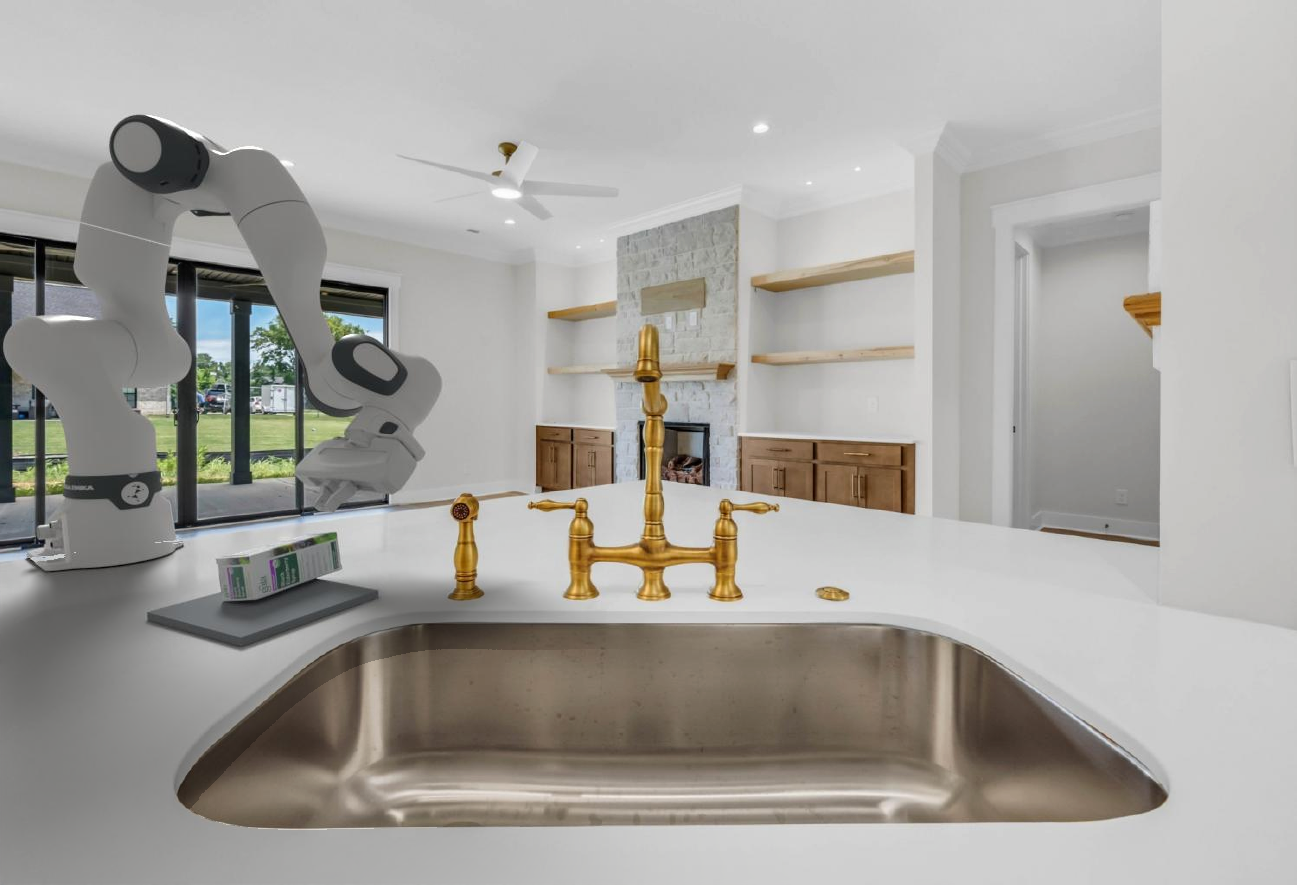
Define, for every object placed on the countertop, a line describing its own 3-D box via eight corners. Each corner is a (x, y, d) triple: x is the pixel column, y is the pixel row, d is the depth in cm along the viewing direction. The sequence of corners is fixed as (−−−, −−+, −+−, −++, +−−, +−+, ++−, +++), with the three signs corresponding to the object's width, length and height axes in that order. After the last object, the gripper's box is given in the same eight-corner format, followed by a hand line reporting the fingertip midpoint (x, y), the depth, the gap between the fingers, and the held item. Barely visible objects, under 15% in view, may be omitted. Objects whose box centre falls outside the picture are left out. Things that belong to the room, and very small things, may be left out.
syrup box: (343, 569, 89) (256, 601, 75) (310, 571, 91) (219, 603, 77) (338, 531, 89) (249, 555, 75) (305, 534, 91) (212, 558, 77)
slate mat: (147, 620, 74) (146, 611, 74) (289, 579, 90) (289, 573, 90) (241, 646, 66) (240, 637, 66) (378, 597, 82) (378, 590, 82)
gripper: (318, 423, 100) (261, 491, 92) (411, 427, 92) (357, 501, 84) (343, 449, 105) (290, 515, 97) (434, 454, 96) (385, 527, 88)
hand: (322, 509), depth 90 cm, fingers closed
